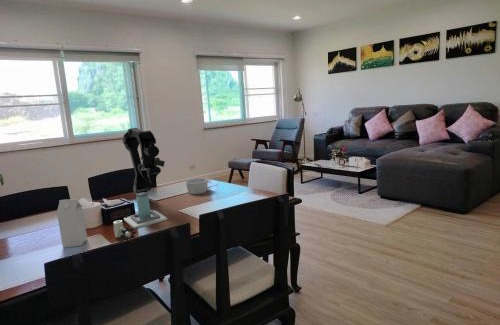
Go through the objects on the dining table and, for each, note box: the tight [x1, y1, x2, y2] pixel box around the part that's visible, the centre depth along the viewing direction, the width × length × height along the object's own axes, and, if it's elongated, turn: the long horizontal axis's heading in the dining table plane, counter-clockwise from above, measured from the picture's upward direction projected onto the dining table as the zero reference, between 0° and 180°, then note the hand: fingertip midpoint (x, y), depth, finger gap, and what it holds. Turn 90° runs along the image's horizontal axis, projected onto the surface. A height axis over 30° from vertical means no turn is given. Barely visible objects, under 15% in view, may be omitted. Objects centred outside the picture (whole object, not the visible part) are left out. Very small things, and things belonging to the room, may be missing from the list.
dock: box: [123, 209, 168, 230], centre depth 168 cm, size 16×16×2 cm
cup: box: [135, 192, 151, 220], centre depth 167 cm, size 6×6×12 cm
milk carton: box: [56, 198, 88, 249], centre depth 143 cm, size 7×7×19 cm
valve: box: [112, 219, 137, 242], centre depth 147 cm, size 7×7×12 cm
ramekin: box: [185, 178, 208, 195], centre depth 213 cm, size 13×13×7 cm
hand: (150, 184), depth 185 cm, fingers open, 9 cm apart
